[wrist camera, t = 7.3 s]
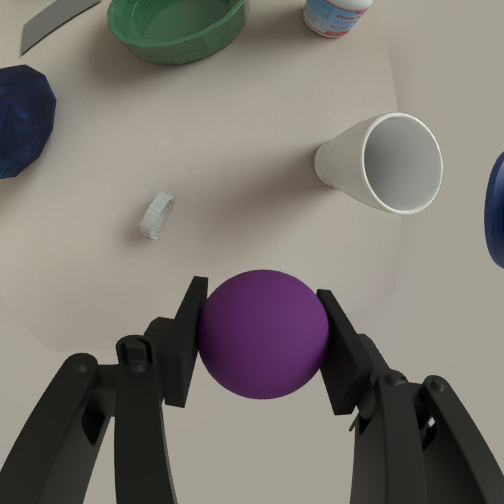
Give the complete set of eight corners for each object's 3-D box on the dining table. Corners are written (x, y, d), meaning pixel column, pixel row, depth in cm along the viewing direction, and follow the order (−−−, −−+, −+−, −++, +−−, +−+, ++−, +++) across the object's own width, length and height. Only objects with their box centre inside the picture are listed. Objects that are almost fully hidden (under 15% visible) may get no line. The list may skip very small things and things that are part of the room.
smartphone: (24, 24, 19) (99, -27, 18) (25, 25, 19) (100, -25, 18) (20, 54, 21) (98, 0, 20) (22, 55, 22) (100, 1, 20)
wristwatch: (145, 223, 30) (128, 233, 26) (164, 185, 29) (149, 189, 24) (165, 235, 31) (151, 247, 26) (186, 198, 30) (174, 204, 25)
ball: (323, 259, 14) (366, 315, 9) (301, 350, 16) (321, 425, 10) (210, 246, 14) (184, 299, 8) (204, 342, 16) (187, 418, 10)
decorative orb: (86, 69, 20) (-27, 48, 7) (46, 199, 24) (-63, 196, 11) (63, 79, 27) (-16, 65, 14) (34, 171, 31) (-44, 166, 18)
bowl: (255, -21, 21) (257, -47, 15) (237, 68, 25) (234, 47, 20) (144, -17, 20) (131, -39, 14) (115, 69, 25) (91, 55, 19)
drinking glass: (350, 202, 30) (425, 232, 16) (297, 180, 29) (342, 191, 15) (370, 149, 28) (453, 143, 14) (318, 125, 27) (376, 91, 13)
